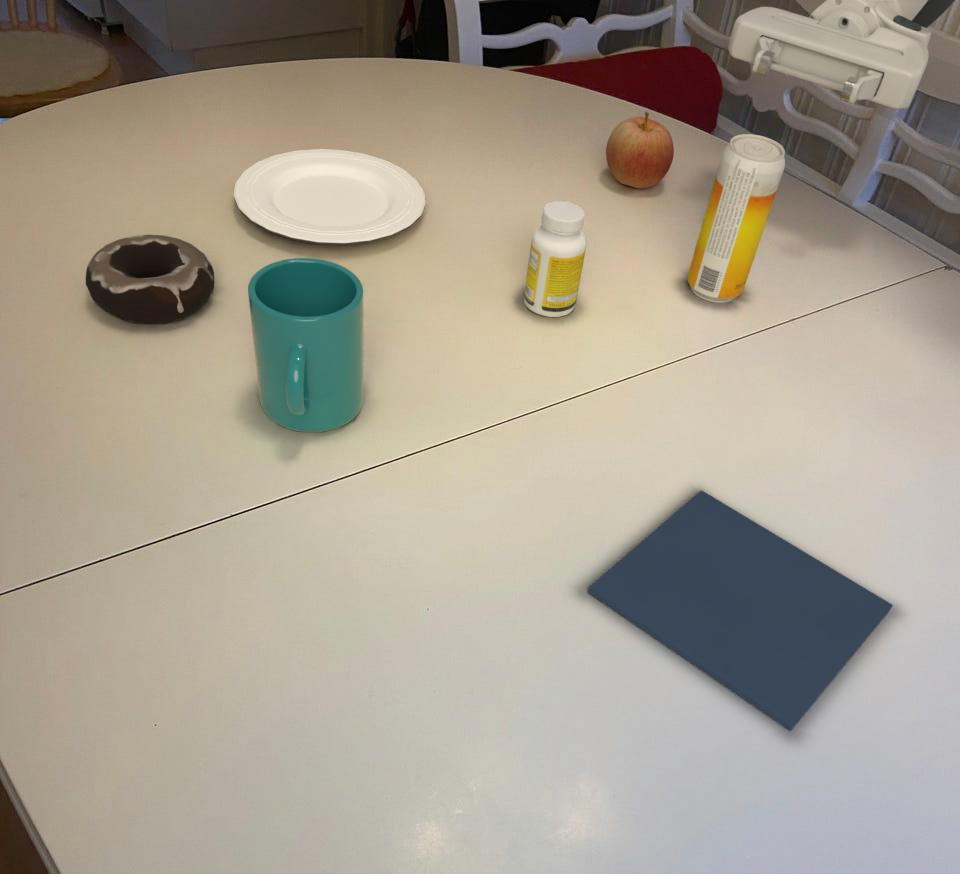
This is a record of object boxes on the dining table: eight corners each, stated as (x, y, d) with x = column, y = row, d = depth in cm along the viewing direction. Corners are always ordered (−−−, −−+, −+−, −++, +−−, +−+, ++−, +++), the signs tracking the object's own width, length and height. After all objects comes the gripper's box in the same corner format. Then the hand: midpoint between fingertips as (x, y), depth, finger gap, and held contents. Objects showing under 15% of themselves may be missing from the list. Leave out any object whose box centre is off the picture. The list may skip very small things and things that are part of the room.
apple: (599, 163, 119) (612, 95, 113) (662, 171, 120) (678, 103, 113) (601, 194, 114) (615, 124, 108) (667, 202, 115) (684, 132, 108)
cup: (243, 453, 80) (228, 335, 71) (270, 367, 87) (259, 251, 79) (352, 464, 80) (350, 348, 71) (369, 377, 88) (369, 263, 79)
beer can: (747, 285, 104) (795, 143, 93) (732, 311, 100) (780, 167, 89) (694, 268, 105) (735, 126, 94) (678, 294, 102) (718, 149, 90)
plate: (351, 281, 97) (350, 263, 96) (194, 212, 103) (191, 194, 102) (460, 205, 109) (461, 188, 108) (314, 147, 115) (314, 131, 114)
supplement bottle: (584, 303, 99) (602, 210, 91) (557, 325, 96) (574, 231, 88) (540, 283, 101) (554, 191, 93) (512, 304, 98) (525, 210, 90)
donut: (87, 334, 88) (77, 295, 85) (94, 265, 95) (85, 227, 92) (218, 330, 90) (213, 292, 87) (215, 263, 97) (210, 225, 94)
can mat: (890, 609, 75) (893, 604, 75) (790, 731, 67) (793, 726, 66) (699, 494, 82) (701, 489, 81) (587, 592, 73) (588, 587, 73)
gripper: (763, -19, 105) (718, 14, 97) (947, 35, 100) (915, 75, 92) (745, 44, 110) (700, 81, 102) (919, 99, 104) (887, 143, 96)
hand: (804, 79), depth 96 cm, fingers open, 8 cm apart
